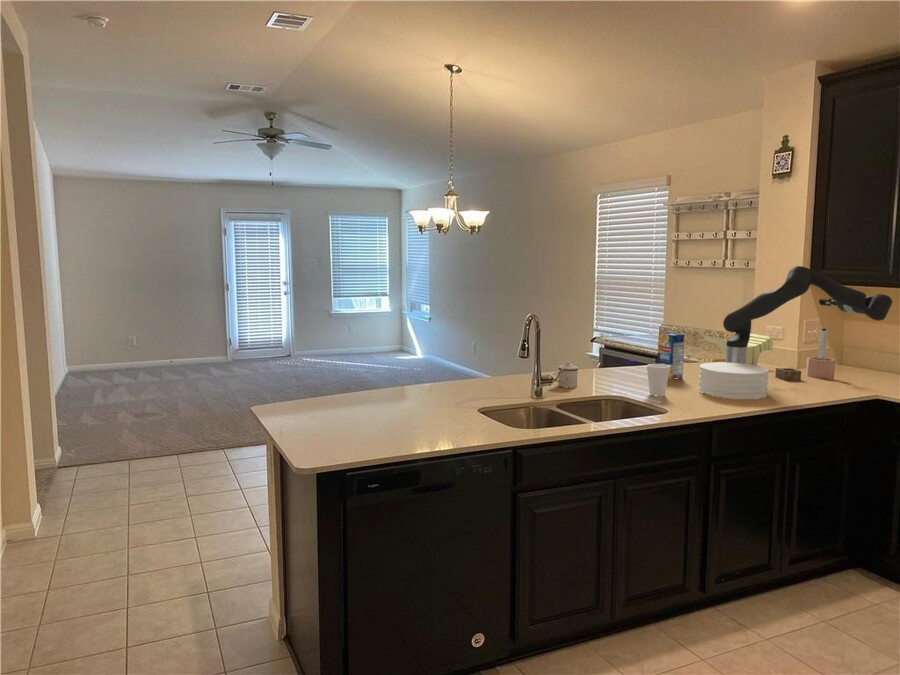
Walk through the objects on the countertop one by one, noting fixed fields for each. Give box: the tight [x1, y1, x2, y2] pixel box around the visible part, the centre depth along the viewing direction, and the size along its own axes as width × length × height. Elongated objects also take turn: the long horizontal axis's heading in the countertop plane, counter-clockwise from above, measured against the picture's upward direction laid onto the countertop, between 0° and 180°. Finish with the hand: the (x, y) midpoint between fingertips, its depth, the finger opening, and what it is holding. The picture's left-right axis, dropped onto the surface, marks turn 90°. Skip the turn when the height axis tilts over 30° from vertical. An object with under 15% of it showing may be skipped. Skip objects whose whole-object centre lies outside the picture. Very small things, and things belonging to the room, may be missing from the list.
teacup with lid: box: [553, 361, 579, 388], centre depth 294 cm, size 12×9×12 cm
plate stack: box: [697, 361, 770, 400], centre depth 282 cm, size 28×28×12 cm
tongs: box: [817, 327, 829, 361], centre depth 313 cm, size 3×2×24 cm
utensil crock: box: [805, 356, 836, 381], centre depth 314 cm, size 11×11×10 cm
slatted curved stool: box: [705, 333, 774, 366], centre depth 340 cm, size 30×16×18 cm, turn 109°
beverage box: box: [656, 331, 686, 380], centre depth 317 cm, size 7×11×22 cm, turn 22°
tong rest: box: [774, 367, 802, 382], centre depth 307 cm, size 8×8×6 cm
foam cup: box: [646, 363, 670, 397], centre depth 277 cm, size 10×9×13 cm
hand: (829, 301), depth 290 cm, fingers open, 8 cm apart
